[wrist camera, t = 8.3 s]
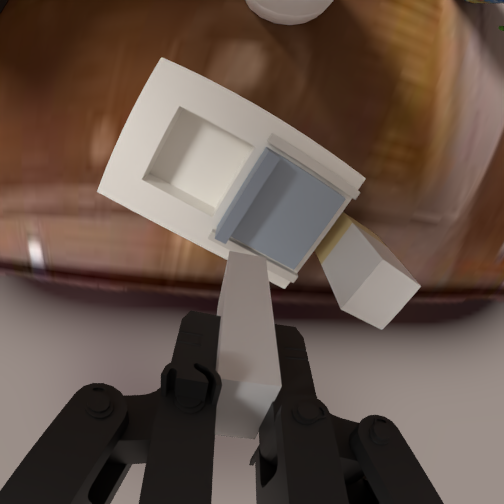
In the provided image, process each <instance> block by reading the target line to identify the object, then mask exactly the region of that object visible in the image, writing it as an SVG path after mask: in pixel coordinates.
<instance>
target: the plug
mask: <svg viewBox="0 0 504 504" xmlns="http://www.w3.org/2000/svg"><path fill="white" fill-rule="evenodd" d="M315 253H316V255H317V257H318V259H319V261H320V263H321V266H322V268H323V270H324V272H325V275H326V277H327V279H328V281H329V283H330V286H331V288H332V290H333V293H334V295H335V297H336V299H337V302H338V304H339V306H340V309H341V310H343V311H345V312H347V313H349V314H351V315H353V316H355V317H357V318H359V319H361V320H363V321H365V322H367V323H369V324H371V325H373V326H375V327H377V328H379V329H381V330H383V328H384V327H385V326H386V325H387V324H388V323H389V322H390V321H391V320H392V319H393V318H394V317H395V316H396V314H397V313H398V312H399V311H400V310H401V309H402V308H403V307H404V306H405V304H406V303H407V302H408V301H409V300H410V299H411V298H412V296H413V295H414V294H415V293H416V292H417V290H418V289H419V288H420V287H421V286H420V284H419V283H418V282H417V281H416V280H415V278H414V277H413V276H412V275H411V274H410V272H409V271H408V270H407V269H406V268H405V267H404V265H403V264H402V263H401V262H400V261H399V260H398V258H397V257H396V256H395V255H394V254H393V253H392V252H391V251H390V249H389V248H388V247H387V246H386V245H385V244H384V243H383V242H382V240H381V239H380V238H379V237H378V236H377V235H376V234H374V233H373V232H371V231H370V230H369V229H367V228H366V227H364V226H363V225H362V224H360V223H359V222H357V221H356V220H354V219H353V218H351V217H350V216H349V215H347V214H346V213H344V212H342V214H341V215H340V216H339V218H338V219H337V220H336V222H335V223H334V225H333V226H332V227H331V229H330V230H329V231H328V233H327V234H326V235H325V237H324V238H323V240H322V241H321V242H320V244H319V245H318V246H317V248H316V249H315Z"/></svg>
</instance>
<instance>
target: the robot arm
mask: <svg viewBox="0 0 504 504" xmlns="http://www.w3.org/2000/svg"><path fill="white" fill-rule="evenodd" d="M7 1H8V0H0V12H1V11H2V9H3V8H4V6H5V4H6V3H7ZM258 432H259V443H260V444H259V446H258V448H257V450H256V451H255V453H254V455H253V456H252V458H251V460H250V464H249V465H254V463H255V462H256V463H255V464H256V465H255V466H256V500H257V504H444V503H443V502H442V500H441V498H440V497H439V495H438V493H437V492H436V490H435V488H434V487H433V485H432V483H431V482H430V480H429V479H428V477H427V475H426V473H425V472H424V470H423V468H422V467H421V465H420V463H419V462H418V460H417V459H416V457H415V455H414V454H413V452H412V450H411V449H410V447H409V446H408V444H407V443H406V441H405V439H404V438H403V436H402V434H401V433H400V431H399V430H398V428H397V427H396V426H395V425H394V423H393V422H392V421H390V420H389V419H387V418H386V417H383V416H379V415H370V416H367V417H366V418H364V419H362V420H361V422H360V423H357V422H353V421H349V420H346V419H342V418H339V417H336V416H334V415H332V414H330V413H329V411H328V409H327V407H326V406H325V405H324V404H323V403H322V402H321V401H320V400H319V399H317V396H316V393H315V388H314V383H313V379H312V374H311V370H310V365H309V361H308V356H307V352H306V347H305V343H304V338H303V337H302V335H301V334H300V333H299V331H298V330H297V329H296V327H291V326H284V325H277V324H274V318H273V311H272V303H271V295H270V287H269V279H268V272H267V264H266V258H264V257H259V256H254V255H249V254H244V253H239V252H234V251H229V255H228V260H227V265H226V269H225V274H224V279H223V283H222V288H221V293H220V298H219V303H218V309H217V315H211V314H206V313H201V312H195V311H190V312H189V313H188V314H187V315H186V316H185V317H184V318H183V319H182V321H181V325H180V329H179V333H178V337H177V341H176V345H175V349H174V353H173V357H172V361H171V363H169V364H168V365H167V366H165V368H164V370H163V372H162V373H161V388H159V389H158V390H157V391H155V392H152V393H150V394H146V395H132V396H123V395H122V393H121V392H120V391H118V390H117V389H116V388H114V387H113V386H110V385H107V384H104V383H92V384H89V385H86V386H83V387H82V388H81V389H80V390H78V391H77V392H76V393H75V394H74V396H73V397H72V398H71V399H70V401H69V402H68V403H67V404H66V405H65V407H64V408H63V409H62V410H61V412H60V413H59V414H58V415H57V417H56V418H55V419H54V420H53V422H52V423H51V424H50V426H49V427H48V428H47V429H46V431H45V432H44V433H43V435H42V436H41V437H40V438H39V440H38V441H37V442H36V443H35V445H34V446H33V447H32V449H31V450H30V451H29V453H28V454H27V455H26V457H25V458H24V459H23V461H22V462H21V463H20V465H19V466H18V467H17V469H16V470H15V471H14V473H13V474H12V475H11V477H10V478H9V480H8V481H7V482H6V484H5V485H4V487H3V488H2V489H1V491H0V504H110V503H111V501H112V500H113V498H114V496H115V494H116V492H117V490H118V489H119V487H120V485H121V483H122V481H123V480H124V478H125V476H126V474H127V473H128V471H129V469H130V467H131V465H132V464H139V463H146V467H145V472H144V478H143V483H142V489H141V494H140V500H139V504H211V495H212V475H213V457H214V440H215V435H221V436H229V437H238V438H249V439H255V438H256V436H257V434H258Z"/></svg>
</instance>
